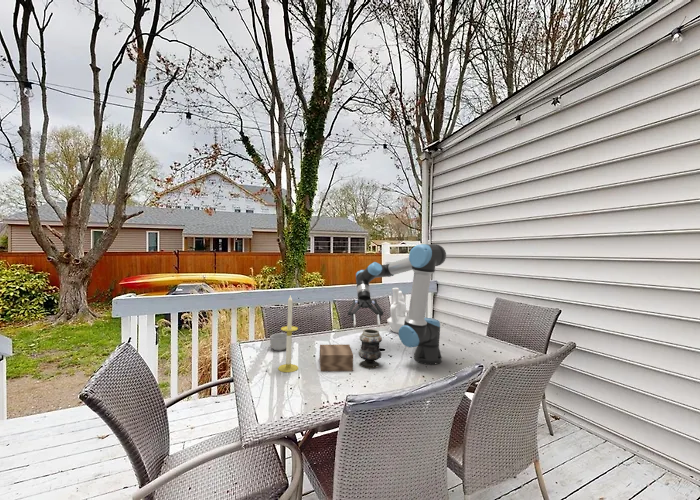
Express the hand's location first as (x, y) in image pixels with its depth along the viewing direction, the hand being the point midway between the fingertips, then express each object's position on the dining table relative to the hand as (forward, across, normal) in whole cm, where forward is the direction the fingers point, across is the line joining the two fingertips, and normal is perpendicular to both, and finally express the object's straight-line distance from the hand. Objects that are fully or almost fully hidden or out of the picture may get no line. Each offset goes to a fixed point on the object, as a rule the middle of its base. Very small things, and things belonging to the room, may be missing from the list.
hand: (367, 325), depth 191 cm
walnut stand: (+20, +18, -6) cm, 27 cm away
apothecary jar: (+20, 0, -6) cm, 21 cm away
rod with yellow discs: (+22, +42, -3) cm, 47 cm away
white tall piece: (-21, -31, -47) cm, 60 cm away
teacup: (+1, +48, -24) cm, 54 cm away
